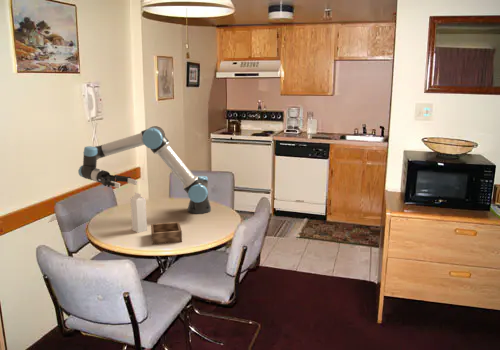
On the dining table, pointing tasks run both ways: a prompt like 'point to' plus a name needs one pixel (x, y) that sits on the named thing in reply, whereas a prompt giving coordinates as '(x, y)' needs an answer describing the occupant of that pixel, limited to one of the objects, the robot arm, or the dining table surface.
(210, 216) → the dining table surface
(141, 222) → the milk
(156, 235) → the box
